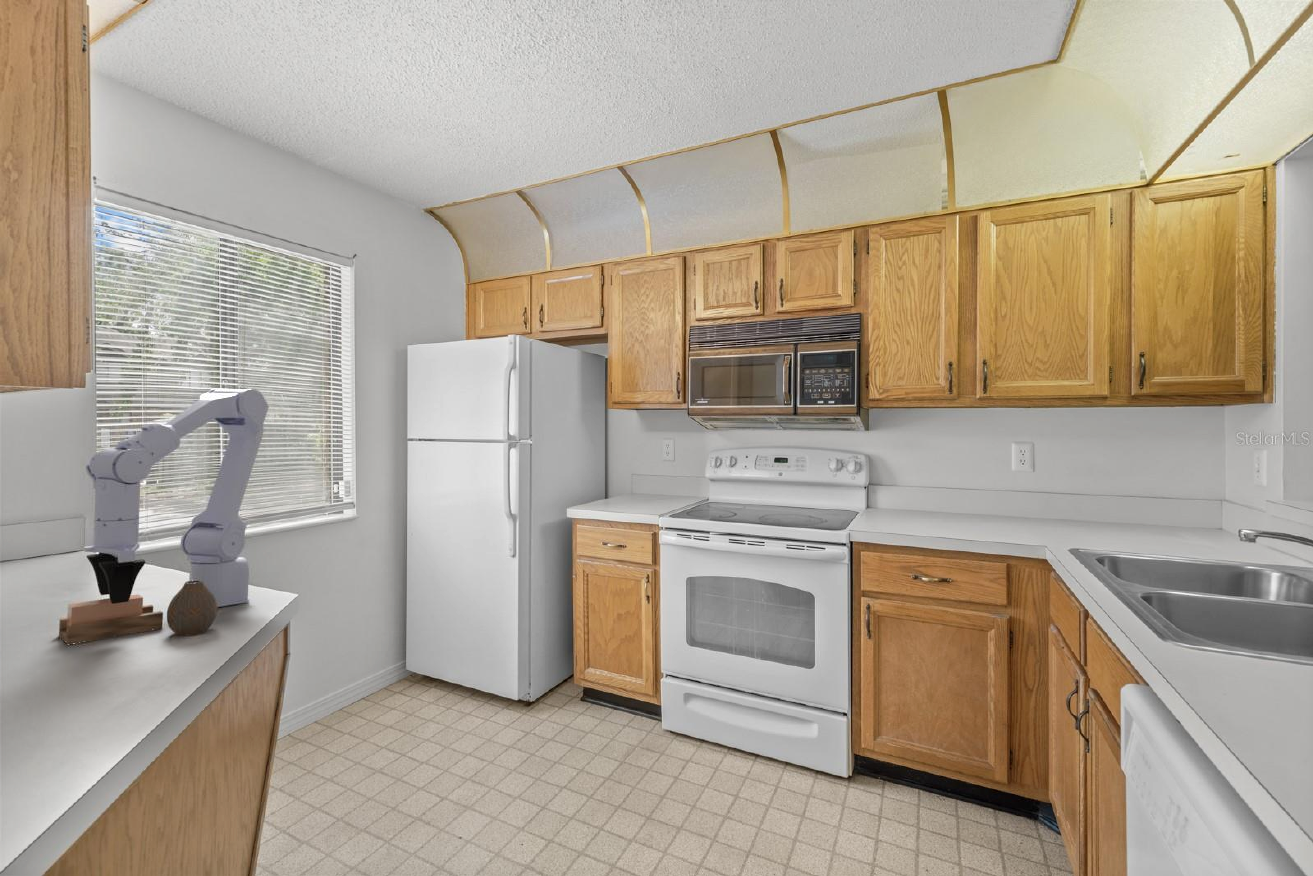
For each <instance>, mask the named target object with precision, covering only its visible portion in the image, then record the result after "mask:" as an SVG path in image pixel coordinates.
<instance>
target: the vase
mask: <svg viewBox="0 0 1313 876" xmlns="http://www.w3.org/2000/svg"><path fill="white" fill-rule="evenodd" d="M166 611H167V612H166V621H167V624H168V627H169V629H170V630H171V631H172V632H173V633H174V634H176V635H178V636H193V635H199V634H203V633H204V632H206V631H208V629H209V628H211V626H212V625H213V623H214V621H215V620H216V617H217V614H218V613H217V612H218V607H217V602H216V599H215V597H214V595H213V594H212V593H211V592H210V591H209V590H208V589H207V588H206V587H205V585H204V583H203V581H201V580H192V581H189V580H188V581H185V582H184V584H183V585H182V587H181V589H180V590H179V591H178V592H177V593H176V594H175V595H174V596H173V597H172V599H171V600H170V602H169V605H168V606H167V610H166Z"/></svg>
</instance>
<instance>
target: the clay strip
mask: <svg viewBox="0 0 1313 876" xmlns="http://www.w3.org/2000/svg"><path fill="white" fill-rule="evenodd" d="M143 602H144V597H143V596H141V595H140V594H131V596H130V598H129V601H128V602H122V603H115V604H112V603H111V600H110V597H109V598H102V599H95V600H94V599H93V600H90V601H88V600H87V601H80V602H74V603H73V602H72V603H68V604H67V617H66V618H67V626H71V625H77V624H83V623H89V622H96V621H102V620H108V619H114V618H121V617H127V616H133V615H139V614H142V610H143V606H144V603H143Z"/></svg>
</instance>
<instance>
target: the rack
mask: <svg viewBox="0 0 1313 876" xmlns="http://www.w3.org/2000/svg"><path fill="white" fill-rule="evenodd" d="M163 616H164V612H163V611H161V610H160V611H154V605H153V604H149V605H147V604H146V605H143V610H142V614H139V615H133V616H127V617H121V618H114V619H108V620H102V621H96V622H89V623H83V624H77V625H71V626H67V617H62V618H59V623H58V624H59V625H58V626H59V628H58V636H59V637H60V636H61V637H60V638H61V640H62V641H63V640H64V641H66V643H67V644H72V645H74V644H73V643H77V644H80V643H79V642H83V643H85V642H84V641H89V642H93V640H94V641H99V639H100V640H105V639H110V638H109V637H111V638H114V637H113V636H117V637H122V636H127V634H128V635H132V633H133V634H138V633H137V632H139V633H144V632H148V630H150V631H153V630H152V629H156V630H160V629H159V628H162V629H163V624H164V623H163V621H164V619H163V618H164V617H163ZM104 638H105V639H104ZM64 641H63V642H64ZM66 643H65V644H66ZM67 644H66V645H67Z"/></svg>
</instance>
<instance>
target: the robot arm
mask: <svg viewBox="0 0 1313 876" xmlns="http://www.w3.org/2000/svg"><path fill="white" fill-rule="evenodd" d="M269 409H270V408H269V404H268V402H267V400H266V399H265V397H264V395H263V393H261V391H259V390H258V389H257V388H246V389H244V388H243V389H239V388H238V389H237V388H236V389H235V388H221V387H215V388H212V389H209V390H208V391H207V392H205V393H203V394H201V395H199V399H198V400H196V402H194V403H192V404H191V405H190V406H188V407H187V408H185V409H184V410H183V411H181V412H180V413H179V414H177V415H176V416H175V417H173V418H172V419H170V420H168V421H167V422H166V423H165V424H163V423H146V424H144V425H142V426H141V427H140V429H141V431H139V432H137V433H136V434H134V435H132V436H131V437H129V438H128V439H125V440H124V439H122V440H120V441H119V442H117V445H116V446H115V448H105V449H102V450H99V451H98V452H96V453H95V454H94V455H93V457H91V459H90V461H89V463H88V464H87V465H85V470H86V474H87V475H88V476H89V478H90V479H91V480H92V483H93V484H92V485H93V489H94V491H95V492H94V494H95V495H94V496H95V497H94V522H93V524H94V525H93V544H92V545H86V546H83V551H84V552H85V553H92V552H93V553H92V554H87V555H86V558H87V560H88V562H89V563H90V565H91V566H92V569H93V571H94V574H95V578H96V583H97V588H98V591H99V595H100V596H107V595H108V596H109V598H110V600H111V603H112V604H115V603H122V602H128V601H129V598H130V596H131V595H132V591H133V588H134V586H135V582H136V580H137V577H138V575H139V574H140V572H141V570H142V569H143V567H144V566H145V565H146V560H145V559H136V551H137V550H138V549H140V547H141V546H140V545H141V544H140V542H139V534H140V533H139V528H140V527H139V526H140V505H141V503H140V502H141V501H140V500H141V499H140V498H141V482H142V480H145V479H147V478H148V476H149V475H150V473H151V469H152V467H153V466H155V464H156V463H159V461H161V460H163V459H164V458H166V456H169V455H170V454H171V453H173V452H175V450H177V449H179V448H180V445H181V439H182V438H183V437H185V436H187V435H188V434H191V433H192V432H193V431H195V430H198V429H199V428H202V426H205V424H208V423H210V422H211V421H214V422H216V424H217V425H218V426H220V427H221V428H222V429H223V430H224V431H226V433H227V434H228V436H229V440H228V443H227V446H226V449H225V452H224V455H223V458H222V460H221V463H220V467H219V469H218V472H217V476H216V479H215V482H214V484H213V488H212V491H211V493H210V496H209V500H208V502H207V505H206V509H204V511H202V512H201V513H199V514H198V515H196V516H194V517H193V518H192V519H191V523H190V525H189V526H188V528H187V529H186V530H185V531H184V533H183V534H182V536H181V539H180V549H181V551H182V553H183V554H184V555H186V556H187V558H186V559H187V561H189V579H188V581H192V580H201V581H203V583H204V585H205V587H206V588H207V589H208V590H209V591H210V592H211V593H212V594H213V595H214V597H215V599H216V602H217V608H221V607H227V606H233V605H239V604H243V603H244V604H245V603H249V602H250V599H248V598H249V578H250V570H249V569H250V568H249V563H248V560H247V559H246V557H244V556H243V557H241V556H240V554H241V553H242V552H243V550H244V548H245V545H246V535H245V534H246V529H247V524H246V522H245V521H244V520H243V519H242V518H241V517H240V516H239V512H240V510H241V506H242V503H243V499H244V496H245V493H246V490H247V487H248V484H249V481H250V479H251V475H252V473H253V467H254V465H255V462H256V459H257V456H258V453H259V449H260V447H261V442H262V439H263V437H264V423H265V421H266V417H267V413H268V410H269ZM94 553H95V554H94ZM239 556H240V557H239Z"/></svg>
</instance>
